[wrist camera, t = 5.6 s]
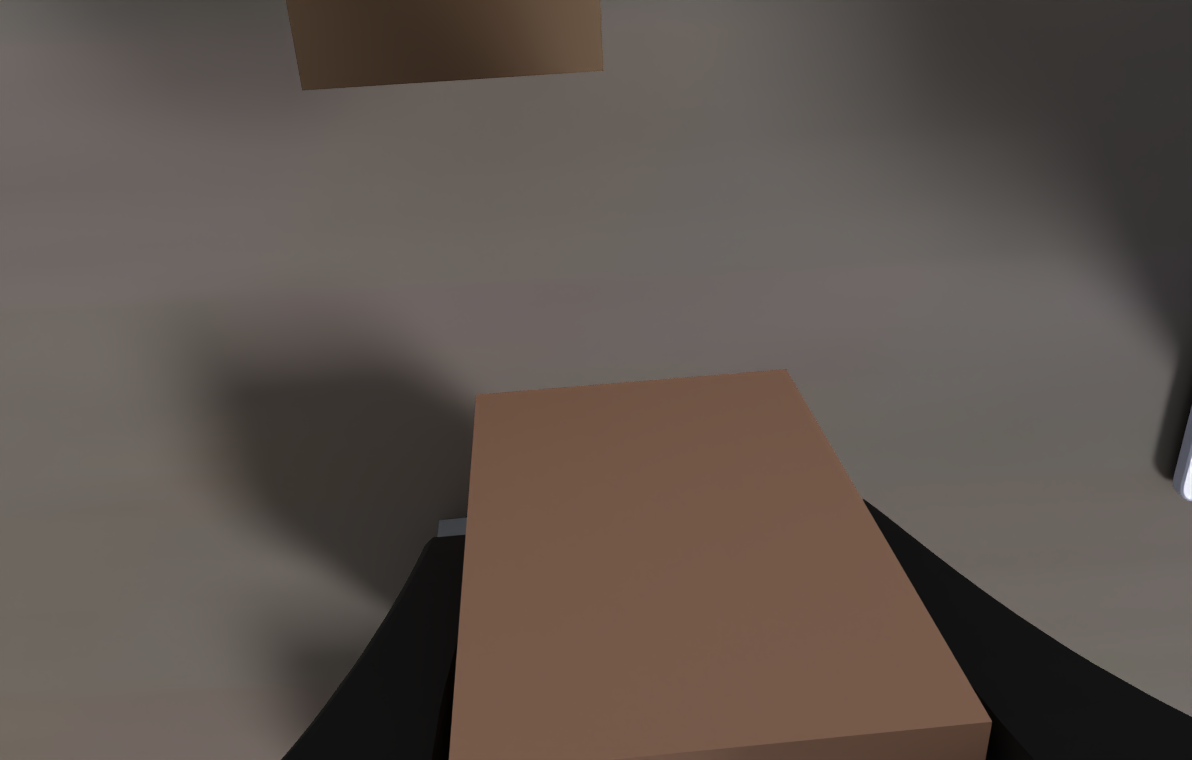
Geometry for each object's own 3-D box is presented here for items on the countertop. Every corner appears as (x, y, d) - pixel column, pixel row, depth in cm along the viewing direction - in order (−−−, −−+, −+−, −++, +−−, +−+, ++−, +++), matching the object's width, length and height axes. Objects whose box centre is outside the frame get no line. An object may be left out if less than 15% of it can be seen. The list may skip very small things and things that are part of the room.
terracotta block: (786, 369, 12) (992, 721, 7) (776, 612, 14) (935, 1040, 9) (476, 394, 12) (447, 775, 7) (506, 637, 14) (501, 1090, 9)
